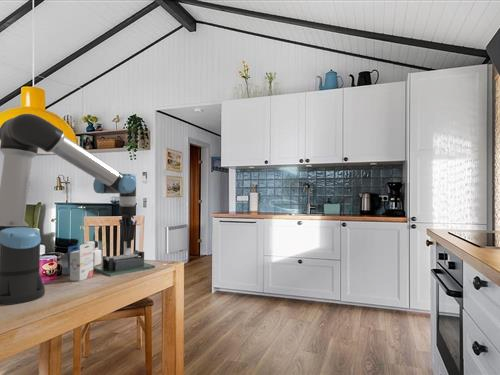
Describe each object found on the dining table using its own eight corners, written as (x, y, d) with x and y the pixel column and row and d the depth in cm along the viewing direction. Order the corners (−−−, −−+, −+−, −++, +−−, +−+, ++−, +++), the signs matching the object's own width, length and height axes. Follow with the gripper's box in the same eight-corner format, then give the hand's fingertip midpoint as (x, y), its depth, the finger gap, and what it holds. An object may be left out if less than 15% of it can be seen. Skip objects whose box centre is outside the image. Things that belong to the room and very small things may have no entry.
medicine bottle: (87, 263, 168) (88, 240, 169) (101, 263, 168) (101, 240, 169) (80, 266, 161) (80, 241, 162) (94, 266, 161) (94, 242, 161)
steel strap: (108, 261, 148) (108, 257, 148) (104, 260, 151) (104, 255, 151) (142, 256, 161) (142, 252, 161) (137, 255, 164) (137, 251, 164)
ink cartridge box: (83, 275, 142) (84, 241, 143) (93, 276, 141) (94, 242, 142) (68, 280, 134) (69, 244, 134) (79, 281, 133) (80, 245, 133)
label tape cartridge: (73, 270, 153) (74, 243, 153) (81, 270, 153) (81, 243, 153) (59, 274, 144) (60, 246, 145) (67, 274, 144) (68, 246, 144)
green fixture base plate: (110, 276, 142) (110, 258, 142) (92, 269, 154) (93, 253, 154) (155, 268, 158) (155, 252, 158) (136, 262, 170) (136, 248, 170)
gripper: (141, 205, 156) (141, 255, 156) (128, 205, 165) (128, 251, 164) (127, 206, 150) (126, 257, 150) (113, 205, 159) (113, 254, 159)
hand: (127, 254), depth 157 cm, fingers closed
